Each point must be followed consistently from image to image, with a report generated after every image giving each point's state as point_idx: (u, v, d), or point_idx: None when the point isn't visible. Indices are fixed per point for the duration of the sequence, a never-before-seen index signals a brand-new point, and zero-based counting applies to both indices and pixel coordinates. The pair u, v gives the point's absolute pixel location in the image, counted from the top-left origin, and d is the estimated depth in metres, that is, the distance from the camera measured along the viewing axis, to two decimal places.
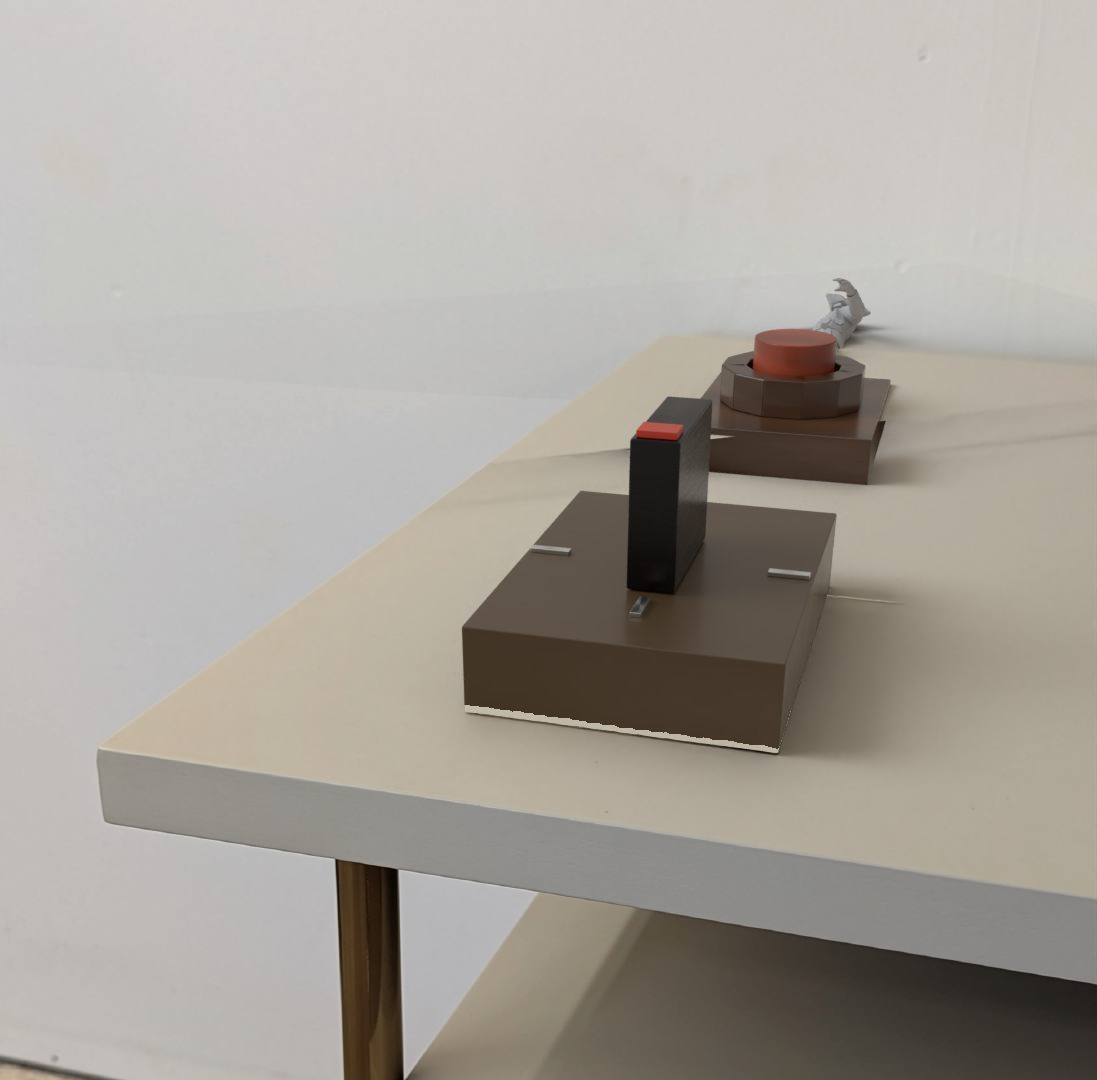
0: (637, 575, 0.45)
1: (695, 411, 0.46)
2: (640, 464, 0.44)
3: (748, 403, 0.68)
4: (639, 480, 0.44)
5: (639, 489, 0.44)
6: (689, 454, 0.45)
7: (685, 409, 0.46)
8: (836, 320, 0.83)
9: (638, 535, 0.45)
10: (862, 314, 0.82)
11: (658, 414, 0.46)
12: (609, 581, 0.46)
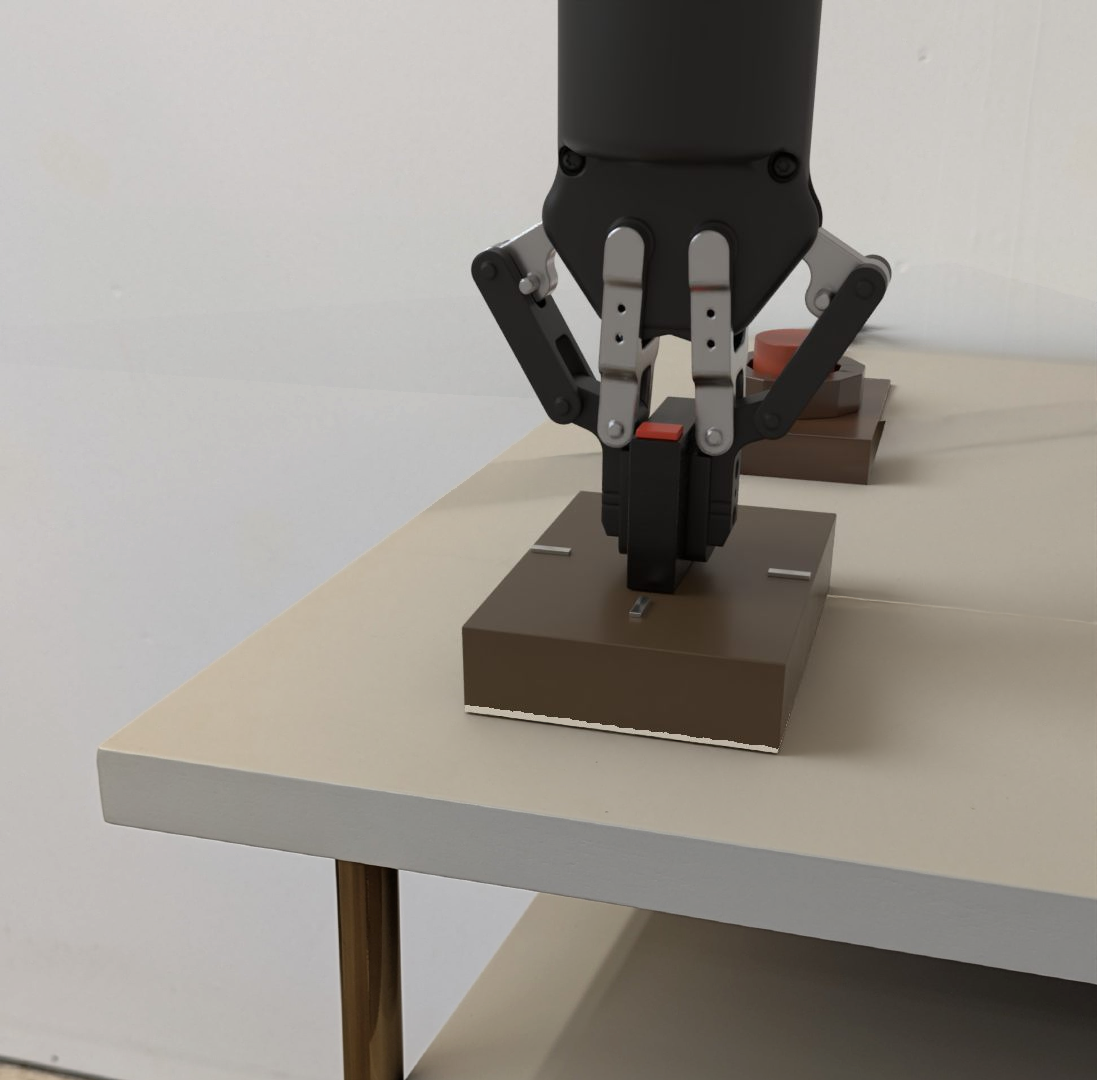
0: (637, 575, 0.45)
1: None
2: (640, 464, 0.44)
3: None
4: (639, 480, 0.44)
5: (639, 489, 0.44)
6: (689, 454, 0.45)
7: (685, 409, 0.46)
8: None
9: (638, 535, 0.45)
10: None
11: (658, 414, 0.46)
12: (609, 581, 0.46)
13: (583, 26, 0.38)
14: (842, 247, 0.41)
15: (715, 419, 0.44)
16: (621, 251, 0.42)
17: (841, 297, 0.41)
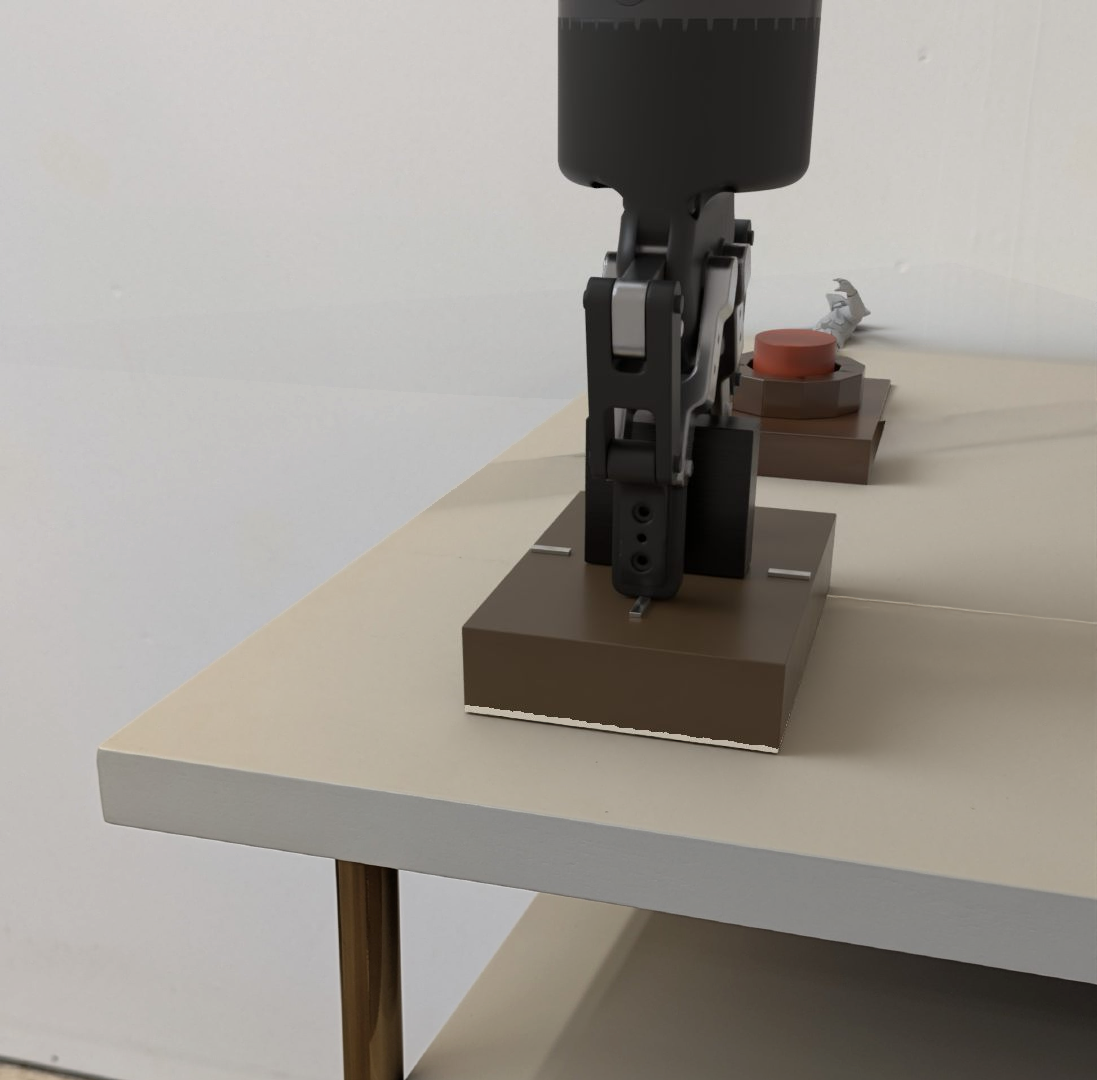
0: None
1: (701, 424, 0.45)
2: None
3: (748, 403, 0.68)
4: None
5: None
6: None
7: (707, 422, 0.45)
8: (836, 320, 0.83)
9: None
10: (862, 314, 0.82)
11: None
12: (609, 581, 0.46)
13: None
14: (629, 269, 0.39)
15: None
16: None
17: None
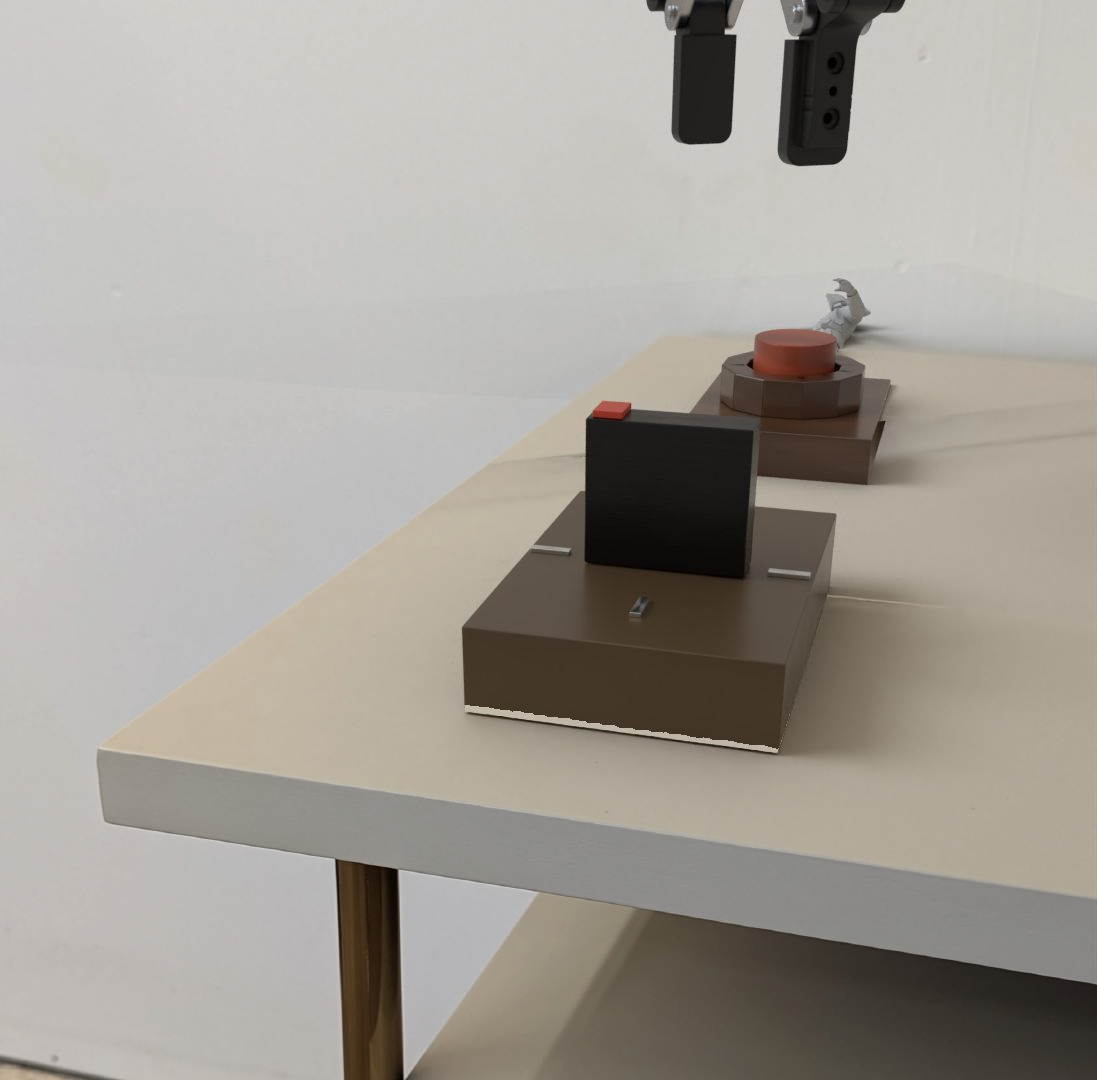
0: None
1: (701, 424, 0.45)
2: None
3: (748, 403, 0.68)
4: None
5: None
6: (632, 446, 0.45)
7: (707, 422, 0.45)
8: (836, 320, 0.83)
9: None
10: (862, 314, 0.82)
11: (686, 414, 0.46)
12: (609, 581, 0.46)
13: None
14: None
15: None
16: None
17: None
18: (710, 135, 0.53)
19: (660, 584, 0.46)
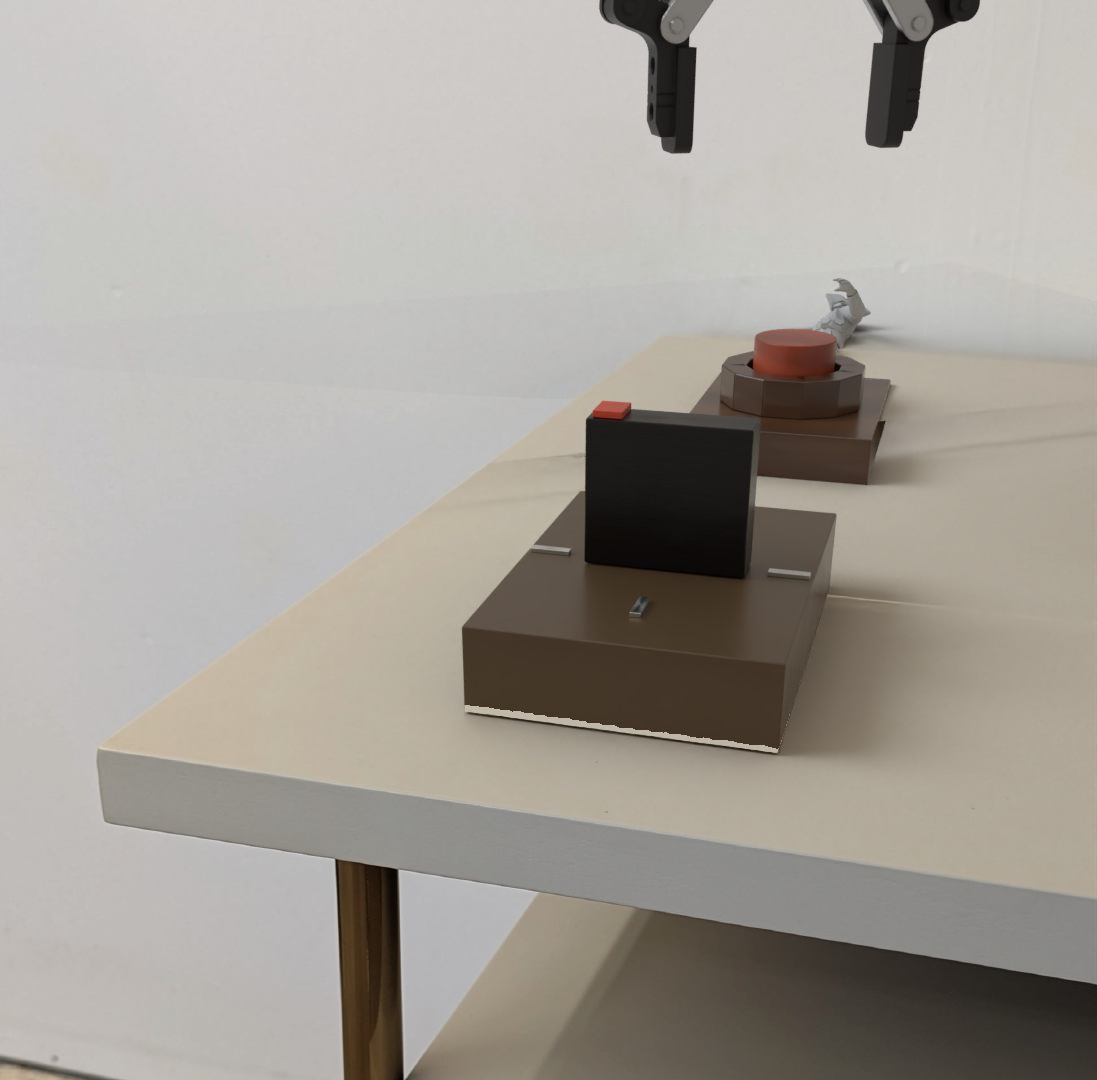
0: None
1: (701, 424, 0.45)
2: None
3: (748, 403, 0.68)
4: None
5: None
6: (632, 446, 0.45)
7: (707, 422, 0.45)
8: (836, 320, 0.83)
9: None
10: (862, 314, 0.82)
11: (686, 414, 0.46)
12: (609, 581, 0.46)
13: None
14: None
15: (912, 9, 0.53)
16: None
17: None
18: None
19: (660, 584, 0.46)
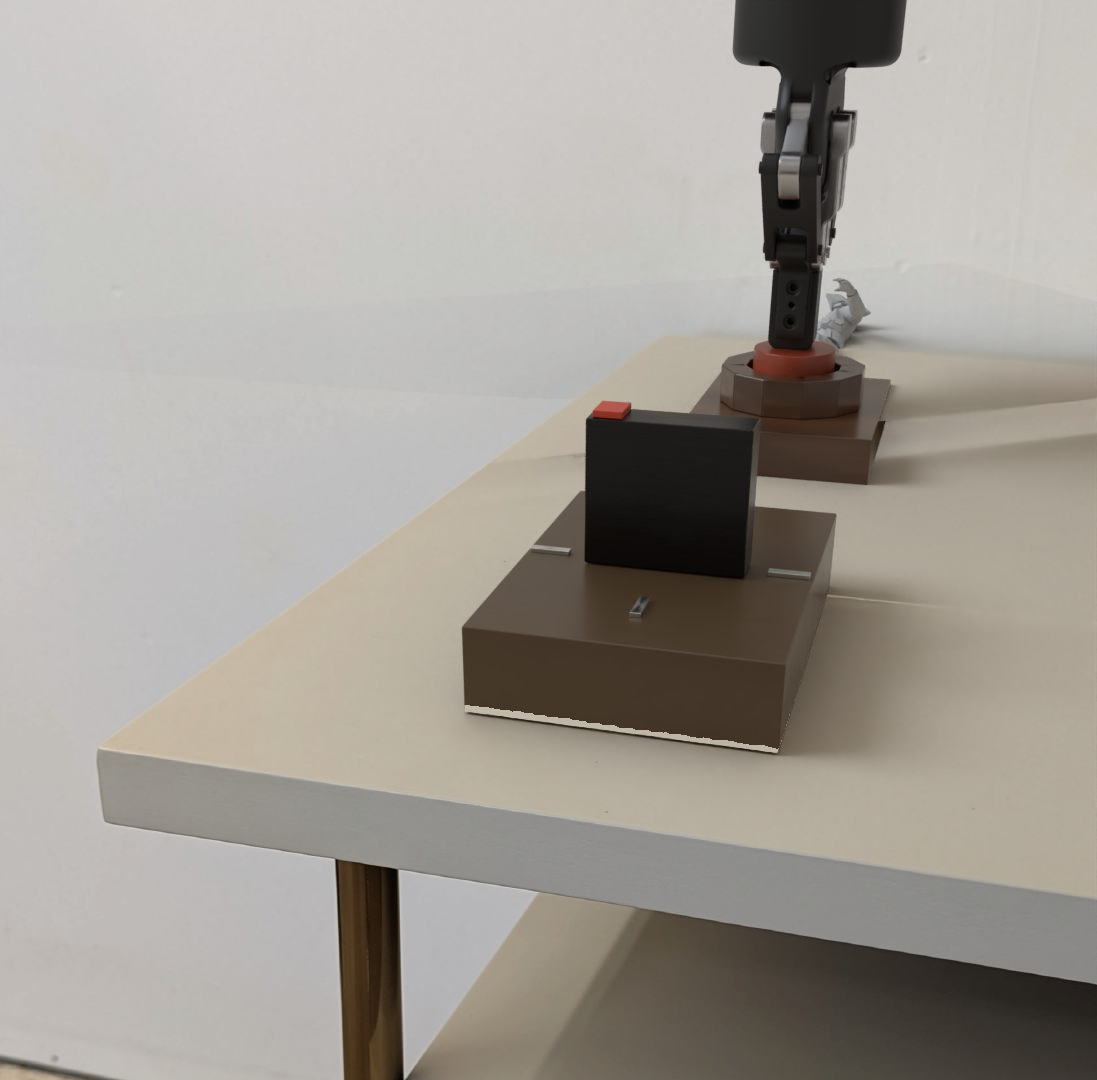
0: None
1: (701, 424, 0.45)
2: None
3: (748, 403, 0.68)
4: None
5: None
6: (632, 446, 0.45)
7: (707, 422, 0.45)
8: (836, 320, 0.83)
9: None
10: (862, 314, 0.82)
11: (686, 414, 0.46)
12: (609, 581, 0.46)
13: None
14: None
15: (827, 240, 0.67)
16: (849, 131, 0.63)
17: None
18: None
19: (660, 584, 0.46)
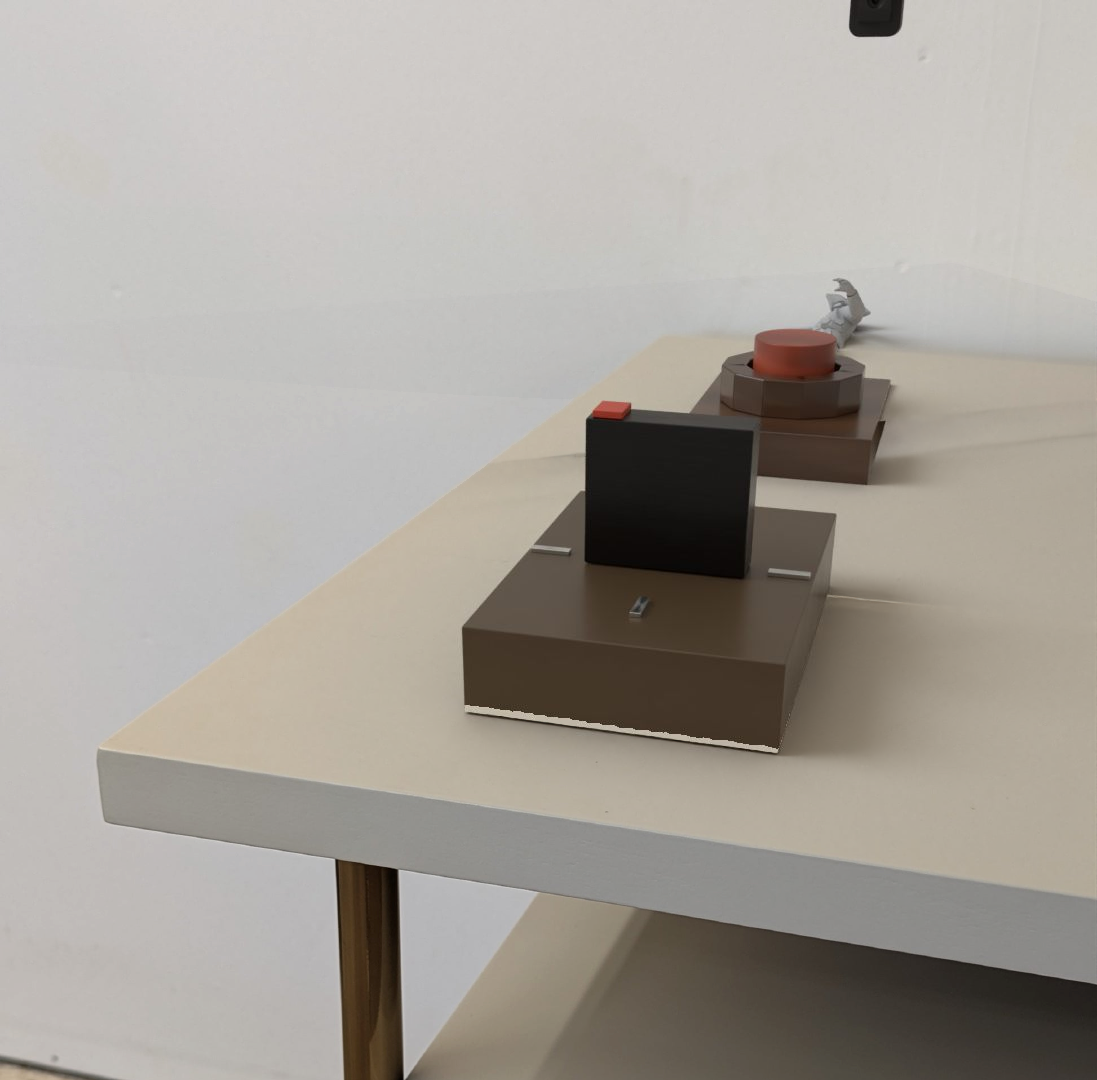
0: None
1: (701, 424, 0.45)
2: None
3: (748, 403, 0.68)
4: None
5: None
6: (632, 446, 0.45)
7: (707, 422, 0.45)
8: (836, 320, 0.83)
9: None
10: (862, 314, 0.82)
11: (686, 414, 0.46)
12: (609, 581, 0.46)
13: None
14: None
15: None
16: None
17: None
18: None
19: (660, 584, 0.46)
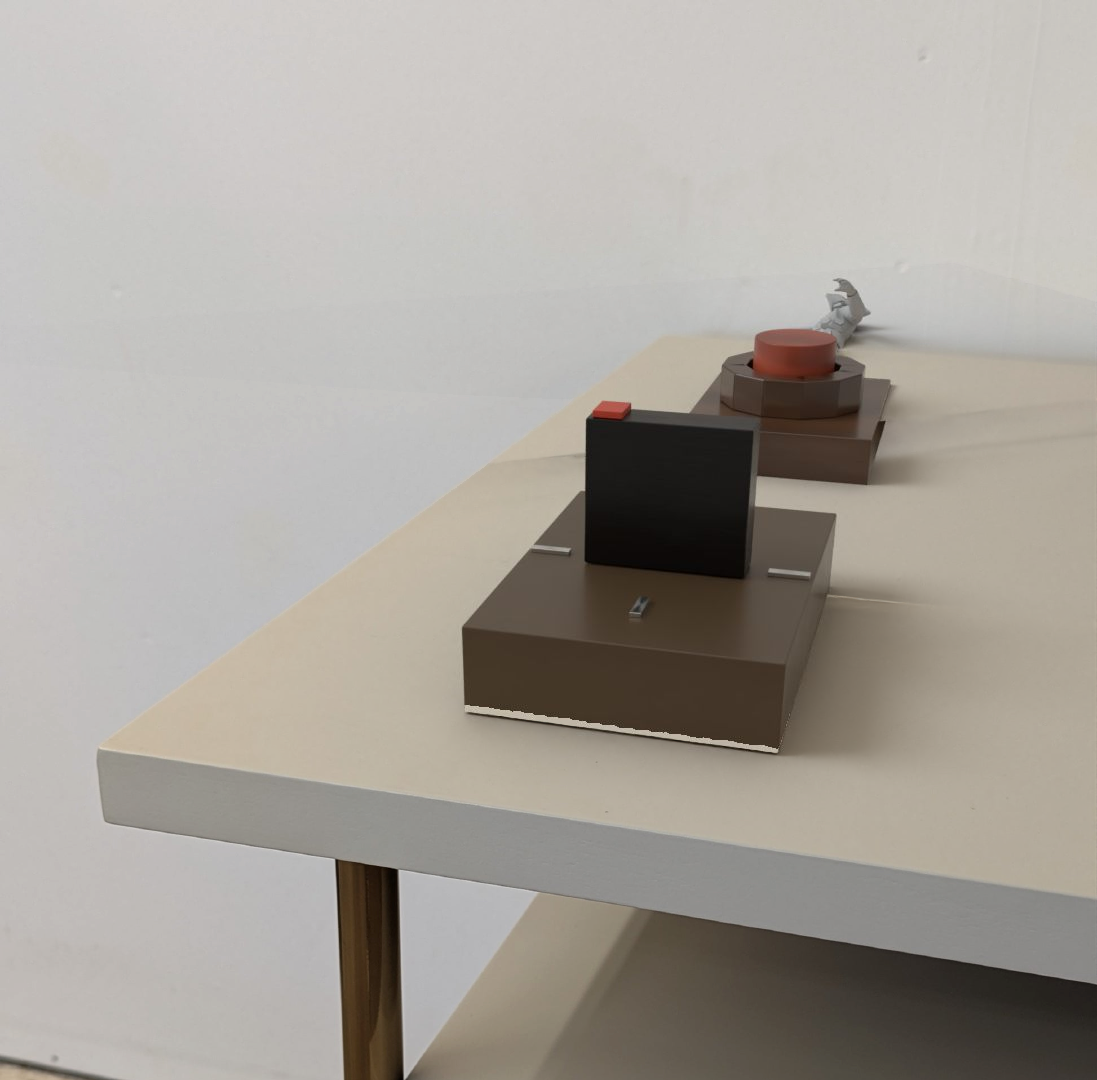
0: None
1: (701, 424, 0.45)
2: None
3: (748, 403, 0.68)
4: None
5: None
6: (632, 446, 0.45)
7: (707, 422, 0.45)
8: (836, 320, 0.83)
9: None
10: (862, 314, 0.82)
11: (686, 414, 0.46)
12: (609, 581, 0.46)
13: None
14: None
15: None
16: None
17: None
18: None
19: (660, 584, 0.46)
